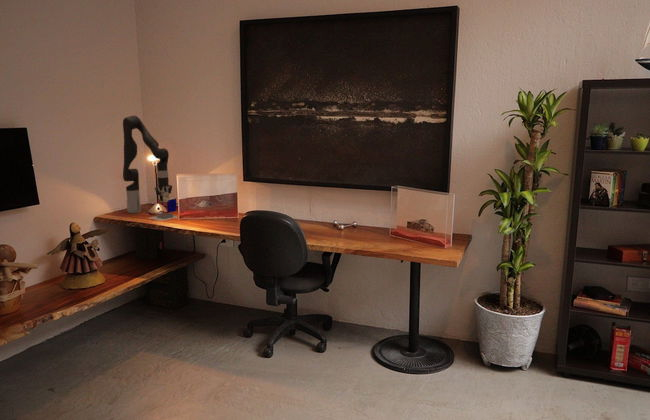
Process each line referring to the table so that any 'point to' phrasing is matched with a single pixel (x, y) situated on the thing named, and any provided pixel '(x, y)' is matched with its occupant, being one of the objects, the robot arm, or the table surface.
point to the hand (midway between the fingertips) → (164, 200)
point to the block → (165, 197)
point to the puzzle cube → (169, 204)
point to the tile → (165, 215)
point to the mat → (161, 218)
